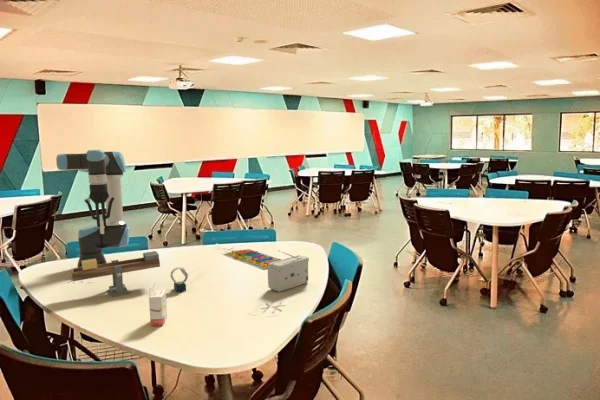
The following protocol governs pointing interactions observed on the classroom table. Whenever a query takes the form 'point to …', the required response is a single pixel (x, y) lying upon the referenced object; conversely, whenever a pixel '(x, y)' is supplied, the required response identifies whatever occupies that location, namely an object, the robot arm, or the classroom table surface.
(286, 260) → the stereo radio cassette player
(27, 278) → the classroom table surface
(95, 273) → the balance beam
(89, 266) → the brass rider
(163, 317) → the ink cartridge box
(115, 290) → the pivot stand
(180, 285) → the watch
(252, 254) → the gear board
